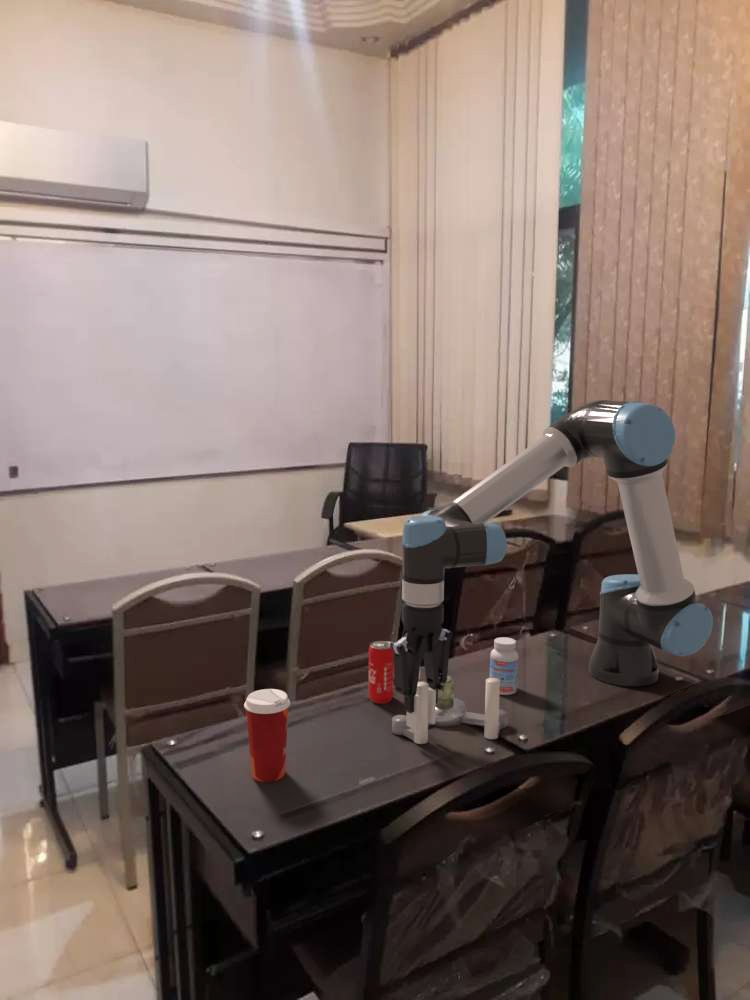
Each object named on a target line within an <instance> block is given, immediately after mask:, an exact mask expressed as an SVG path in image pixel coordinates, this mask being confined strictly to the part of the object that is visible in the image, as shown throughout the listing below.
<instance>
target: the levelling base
mask: <svg viewBox="0 0 750 1000" xmlns="http://www.w3.org/2000/svg"><path fill="white" fill-rule="evenodd" d="M440 685H442V686H443V688H442V689H441V690H438V702H437V704H436V717H435V724H431V723H429V722H428V727H429V726H438V727H454V726H455V727H456V726H458V725H461V724H462V723H463V724H468V725H473V726H474V725H476V726H481V727H484V725H485V714H483V713H476V712H470V711H467V704H466V703H465V701H463V700H462V699H459V698H457V697H454V695H455V679H454V678H452V677H451V675H448V674H447V681H446V683H442V684H440Z"/></svg>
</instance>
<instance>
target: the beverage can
mask: <svg viewBox="0 0 750 1000" xmlns="http://www.w3.org/2000/svg"><path fill="white" fill-rule="evenodd" d="M390 644H391V642H390V641H386V640H375V641H373V642H370V643H369V648H368V697H369V698H370V701H371V702H372V703H375V704H388V703H390V702H391V701H392V699H393V696H394V681H395V677H394V656H393V652H392V649H391V646H390Z"/></svg>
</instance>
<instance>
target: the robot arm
mask: <svg viewBox="0 0 750 1000" xmlns="http://www.w3.org/2000/svg"><path fill="white" fill-rule="evenodd" d="M675 444H676V431H675V426H674V423H673V421H672V418H671V417H670V416H669V415H668V413H667V412H666V411H665V410H664V409H663V408H661V407H659V406H657V405H655V404H652V403H647V402H645V401H644V402H643V401H638V400H636V401H635V400H634V401H619V400H618V401H617V400H615V401H614V400H606V399H605V400H603V399H602V400H599V399H598V400H595V401H591V402H587V403H585V404H582V405H581V406H579V407H577V408H575V409H574V410H571V411H570V412H567V414H565V415H564V416H562V417H561V418H559V419H558V420H556V421H554V422H553V423H552V424H550V426H547V427H546V428H545V429H544V430H543V433H542V436H541V438H539V439H538V440H536V441H535V442H534V443H532V444H531V445H529V446H528V447H526V448H525V449H524V450H523V451H521V452H519V453H518V454H517V455H515V456H514V457H513V458H511V459H510V460H509V461H507V462H506V463H504V464H503V465H501V466H500V467H499V468H497V469H496V470H495V471H493V472H492V473H491V474H489V475H488V476H486V477H485V478H483V479H481V481H479V482H478V483H477V484H475V485H473V486H472V487H471V488H469V489H467V490H466V491H465V492H464V493H462V494H460V495H459V496H458V497H457V498H455V499H454V500H452V501H451V502H449V503H448V504H447V505H445V506H444V507H443V508H441V509H429V510H426V511H424V512H423V513H421V514H420V515H414V516H410V517H408V518H407V519H405V520H404V523H403V529H402V540H401V547H402V579H401V582H402V585H401V586H402V587H401V590H402V591H401V599H402V601H403V602H402V603H401V622H402V624H403V631H402V634H401V638H400V639H398V640H397V641H391V642H390V643H391V644H390V646H391V649H392V652H393V656H394V689H395V690H394V691H395V692H396V693H398V694H400V695H402V696H403V698H404V700H403V701H404V703H403V709H404V711H405V712H406V714H405V715H406V725H407V726H408V727H410V728H412V729H414V730H419V704H420V696H419V695H417V694H416V691H417V684H418V677H419V670H420V671H421V663H422V660H423V665H424V674H425V680H426V683H428V684H429V691H428V722H429V723H431V724H435V717H436V704H437V702H438V690H441V689H442V688H443V686H442V685H440V684H442V683H446V681H447V675H448V671H449V659H450V657H449V656H450V645H451V642H452V638H453V635H454V634H453V631H451V630H449V629H446V628H443V627H442V624H443V623H444V608H445V607H444V604H443V602H444V600H445V598H444V597H445V594H444V593H445V592H444V591H445V571H446V570H445V569H453V568H462V567H463V568H464V567H465V568H466V567H476V566H477V567H478V566H485V567H486V566H488V565H492V564H497V563H499V562H501V561H502V560H503V559H504V557H505V556H506V554H507V536H506V533H505V531H504V529H503V527H502V526H500V525H499V524H497V523H488V522H489V521H491V520H493V519H494V518H495V517H496V516H498V515H499V514H500V513H502V512H503V511H504V510H506V509H507V508H508V507H510V506H512V505H513V504H514V503H516V502H517V501H518V500H520V499H522V498H523V497H524V496H526V495H527V494H528V493H529V492H531V491H533V489H535V488H536V487H538V486H539V485H540V484H542V483H544V482H545V481H546V480H548V479H549V478H550V477H552V476H553V475H554V474H556V473H557V472H559V471H560V470H561V469H563V468H564V467H567V468H572V467H574V466H576V465H577V464H579V463H580V462H582V461H584V460H586V459H589V458H600V459H603V463H604V466H605V470H606V471H605V472H606V475H607V477H608V478H609V479H611V480H613V481H615V482H616V483H617V487H618V491H619V495H620V496H619V497H620V499H621V501H620V502H621V505H622V508H623V513H624V514H623V515H624V518H625V523H626V527H627V531H628V536H629V540H630V544H631V548H632V552H633V558H634V561H635V566H636V570H637V574H635V573H634V574H630V573H629V574H628V573H627V574H614V575H609V576H607V577H605V578H603V580H602V582H601V585H600V586H601V587H600V592H599V613H598V614H599V619H598V623H599V624H598V638H597V641H596V644H595V646H594V649H593V650H592V651H593V652H592V653H591V656H590V658H589V661H588V673H589V674H590V675H591V676H592V677H593V678H595V679H596V680H599V681H602V682H604V683H607V684H612V685H614V686H621V687H622V686H623V687H646V686H650V685H653V684H655V683H657V681H658V680H659V672H660V671H659V665H658V663H657V658H656V653H655V651H654V647H655V648H657V649H659V650H661V651H663V652H664V653H667V654H672V655H675V656H677V657H688V656H692V655H694V654H695V653H696V652H698V651H700V650H701V649H702V647H704V645H706V643H707V641H708V639H709V638H710V636H711V634H712V631H713V626H714V617H713V614H712V611H711V610H710V609H709V608H708V607H707V606H706V605H705V604H704V603H700V602H698V600H697V596H696V591H695V587H694V584H693V583H692V582H691V581H690V580H688V579H686V578H684V577H685V576H684V573H683V567H682V563H681V557H680V554H679V553H680V552H679V548H678V545H677V540H676V539H677V538H676V535H675V529H674V523H673V520H672V519H673V518H672V514H671V510H670V506H669V501H668V496H667V492H666V486H665V483H664V482H665V481H664V478H663V477H664V476H663V472H664V470H665V469H666V468H667V467H668V465H669V460H668V458H669V456H671V454H672V452H673V451H674V450H673V448H672V447H673V446H674V445H675Z"/></svg>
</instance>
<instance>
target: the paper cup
mask: <svg viewBox="0 0 750 1000" xmlns="http://www.w3.org/2000/svg"><path fill="white" fill-rule="evenodd" d="M290 705H291V701H290V699H289V697H288V694H287V693H286V692H285V691H284V690H281V689H276V688H264V689H259V690H255V691H253V692H251V693H249V694H248V695H247V697H246V700H245V702H244V704H243V707H244V709H245V712H246V724H247V736H248V745H249V746H248V747H249V759H250V768H251V770H250V772H251V776H252V779H254V780H255V781H257V782H260V783H274V782H277V781H280V780H281V779H283V777H284V776H285V773H286V763H287V762H286V759H287V741H288V740H287V738H288V737H287V736H288V719H289V718H288V717H289V707H290Z"/></svg>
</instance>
